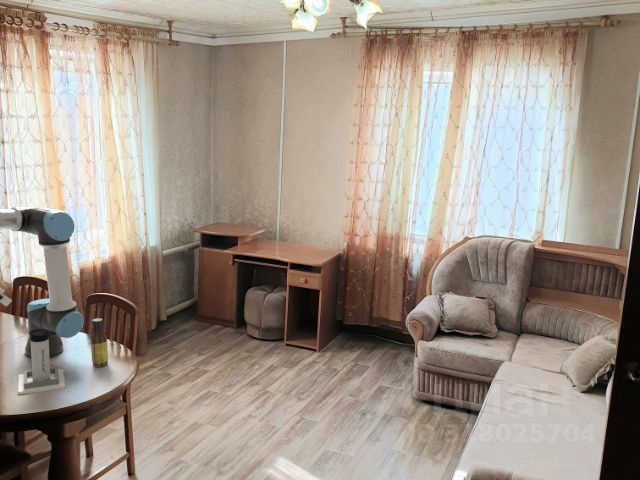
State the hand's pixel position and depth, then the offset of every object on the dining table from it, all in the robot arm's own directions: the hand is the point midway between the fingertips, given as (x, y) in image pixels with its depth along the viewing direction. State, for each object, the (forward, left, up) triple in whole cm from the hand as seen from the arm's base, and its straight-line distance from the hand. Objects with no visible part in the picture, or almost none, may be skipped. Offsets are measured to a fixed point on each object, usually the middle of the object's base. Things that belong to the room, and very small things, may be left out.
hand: (5, 298), depth 218 cm
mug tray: (+4, +10, -36) cm, 37 cm away
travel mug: (+4, +10, -35) cm, 36 cm away
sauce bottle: (+8, +34, -36) cm, 50 cm away
